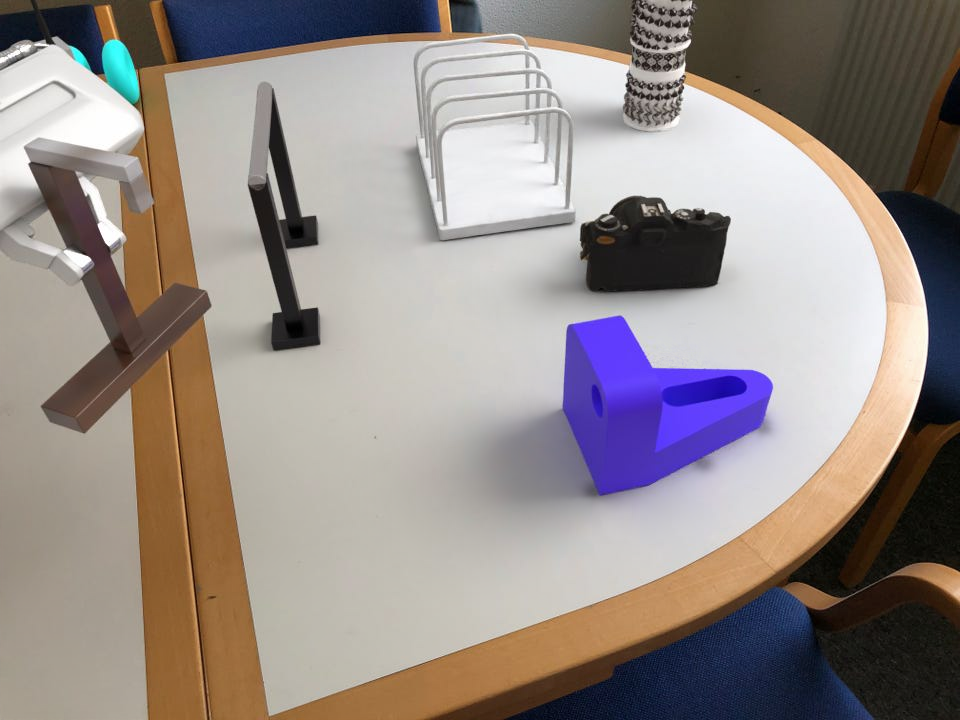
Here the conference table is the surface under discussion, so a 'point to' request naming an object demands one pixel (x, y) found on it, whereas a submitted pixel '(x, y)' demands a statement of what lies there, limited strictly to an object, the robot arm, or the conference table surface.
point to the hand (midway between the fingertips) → (100, 263)
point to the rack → (280, 224)
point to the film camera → (653, 246)
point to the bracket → (649, 407)
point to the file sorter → (492, 155)
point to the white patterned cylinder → (657, 63)
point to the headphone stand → (107, 283)
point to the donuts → (116, 69)
